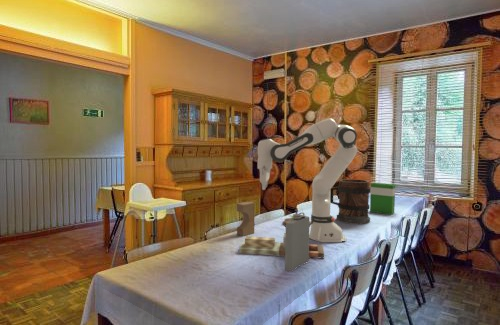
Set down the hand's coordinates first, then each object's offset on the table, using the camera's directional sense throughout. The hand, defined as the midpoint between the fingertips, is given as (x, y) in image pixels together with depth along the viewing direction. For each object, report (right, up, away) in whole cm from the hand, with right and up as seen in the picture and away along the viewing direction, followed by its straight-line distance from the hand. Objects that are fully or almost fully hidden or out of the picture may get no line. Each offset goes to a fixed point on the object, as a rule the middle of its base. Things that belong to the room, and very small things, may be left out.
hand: (264, 188), depth 198 cm
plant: (+25, -29, +39) cm, 54 cm away
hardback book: (+103, -26, +79) cm, 132 cm away
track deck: (+8, -32, -20) cm, 39 cm away
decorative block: (-12, -30, +12) cm, 35 cm away
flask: (+14, -34, -40) cm, 54 cm away
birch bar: (-3, -30, -19) cm, 35 cm away
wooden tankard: (+67, -28, +52) cm, 89 cm away
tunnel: (+13, -30, -21) cm, 39 cm away
